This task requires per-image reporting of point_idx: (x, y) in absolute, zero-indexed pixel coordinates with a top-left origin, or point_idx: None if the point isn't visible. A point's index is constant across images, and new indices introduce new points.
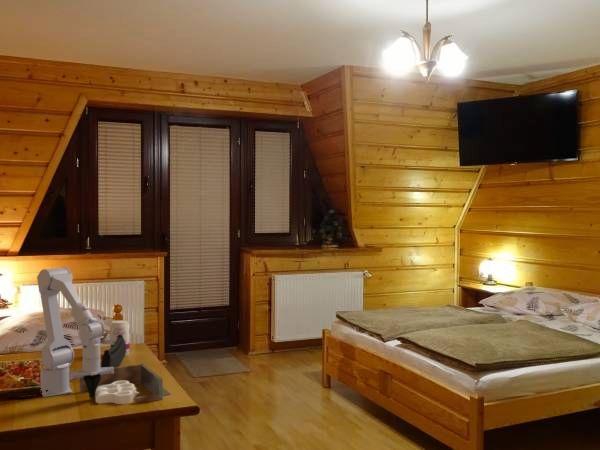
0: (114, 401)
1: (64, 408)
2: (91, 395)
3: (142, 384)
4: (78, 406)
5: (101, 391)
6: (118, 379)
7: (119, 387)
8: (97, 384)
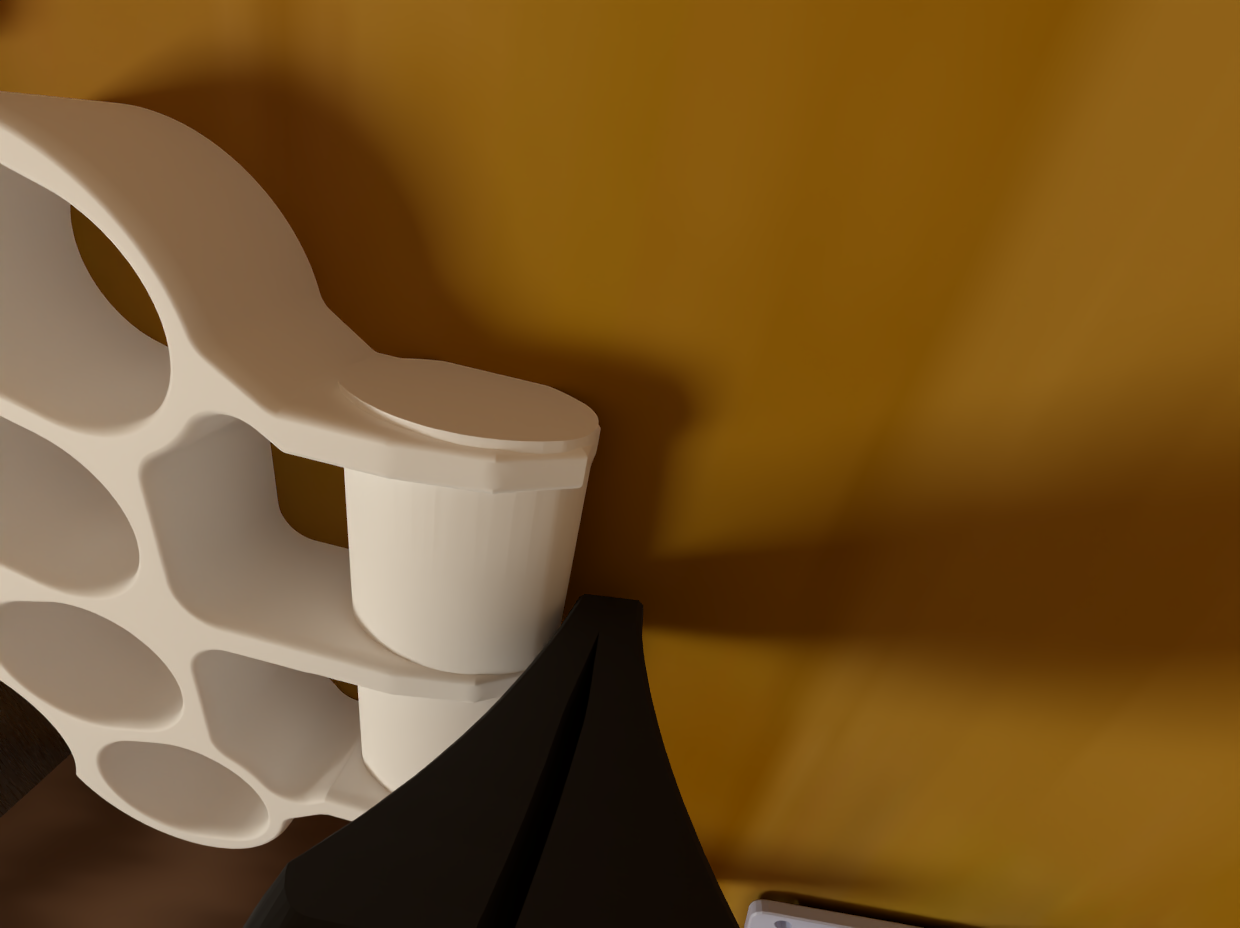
0: (293, 273)
1: (1154, 485)
2: (623, 621)
3: (42, 717)
4: (901, 448)
5: (441, 650)
6: (219, 877)
7: (152, 636)
8: (442, 764)
